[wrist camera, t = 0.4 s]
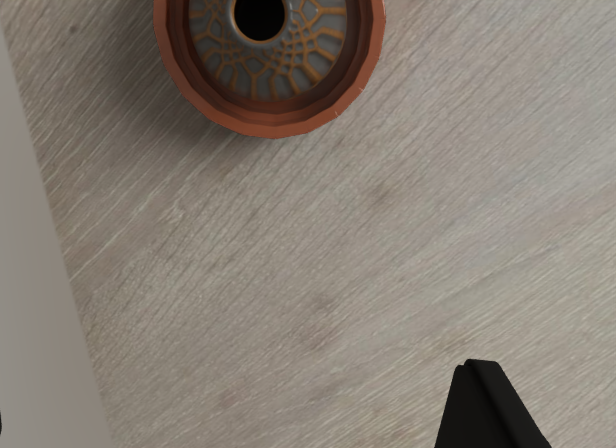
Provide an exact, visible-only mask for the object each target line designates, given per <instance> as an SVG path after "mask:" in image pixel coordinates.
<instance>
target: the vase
mask: <svg viewBox="0 0 616 448" xmlns="http://www.w3.org/2000/svg"><path fill="white" fill-rule="evenodd" d="M189 27H190V33H191V37H192V41H193V44H194V47H195V49H196V51H197V54H198V56H199V58H200V59H201V61H202V63H203V64H204V66H205V67H206V69H207V70H208V71H209V72H210V74H211V75H212V76H213V77H214V78H215V79H216V80H217V81H218V82H219V83H221V84H222V85H223V86H224V87H226V88H227V89H229V90H230V91H232V92H234V93H236V94H238V95H240V96H242V97H245V98H248V99H251V100H255V101H261V102H280V101H286V100H290V99H293V98H296V97H298V96H301V95H303V94H305V93H306V92H308V91H310V90H311V89H313V88H314V87H315V86H317V85H318V84H319V83H320V82H321V81H322V80H323V79H324V78H325V77H326V76H327V75H328V73H329V72H330V71H331V70H332V68H333V67H334V65H335V63H336V61H337V60H338V58H339V55H340V53H341V50H342V48H343V44H344V41H345V36H346V30H347V9H346V2H345V0H190V1H189Z"/></svg>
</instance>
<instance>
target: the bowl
mask: <svg viewBox="0 0 616 448" xmlns="http://www.w3.org/2000/svg"><path fill="white" fill-rule="evenodd" d="M189 1H190V0H154V3H153V25H154V27H153V28H154V32H155V35H156V39H157V43H158V46H159V50H160V54H161V57H162V61H163V63H164V66H165V68H166V69H167V71H168V73H169V74H170V76H171V77H172V79H173V81H174V82H175V84H176V86H177V87H178V89H179V90H180V92H181V94H182V95H183V96H184V97H185V98H186V99H187V100H188V101H189V102H190V103H191V104H192V105H194V106H195V107H196V108H197V109H198V110H199V111H200V112H201V113H202V114H204V115H205V116H206V117H207V118H208V119H209V120H211V121H213V122H215V123H217V124H219V125H222V126H224V127H226V128H228V129H230V130H232V131H234V132H237V133H239V134H242V135H246V136H254V137H262V138H270V139H275V138H276V139H279V138H284V137H290V136H295V135H300V134H305V133H308V132H311V131H313V130H315V129H317V128H318V127H320V126H322V125H324V124H326V123H328V122H329V121H331V120H333V119H335V118H337V117H338V116H339V115H341V113H342V112H343V111H344V110H345V109H346V108H347V107H348V106H349V105H350V104H351V103H352V102H353V101H354V100H355V99H356V98H357V97H358V96H359V95H360V93H361V92H362V91H363V90H364V88H365V86H366V84H367V82H368V80H369V78H370V76H371V74H372V72H373V70H374V68H375V66H376V64H377V62H378V60H379V57H380V53H381V47H382V41H383V35H384V29H385V23H386V13H385V5H384V0H345V2H346V9H347V30H346V36H345V41H344V44H343V48H342V50H341V53H340V55H339V58H338V60H337V61H336V63H335V65H334V67H333V68H332V70H331V71H330V72H329V73H328V75H327V76H326V77H325V78H324V79H323V80H322V81H321V82H320V83H319V84H318V85H317V86H315V87H314V88H313V89H311V90H310V91H308V92H306V93H305V94H303V95H301V96H298V97H296V98H293V99H290V100H286V101H280V102H261V101H255V100H251V99H248V98H245V97H242V96H240V95H238V94H236V93H234V92H232V91H230V90H229V89H227V88H226V87H224V86H223V85H222V84H221V83H219V82H218V81H217V80H216V79H215V78H214V77H213V76H212V75H211V74H210V72H209V71H208V70H207V69H206V67H205V66H204V64H203V63H202V61H201V59H200V58H199V56H198V54H197V51H196V49H195V47H194V44H193V41H192V37H191V33H190V27H189Z"/></svg>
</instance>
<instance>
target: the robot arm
mask: <svg viewBox="0 0 616 448" xmlns="http://www.w3.org/2000/svg"><path fill="white" fill-rule="evenodd" d="M1 429H2V425H1V415H0V434H1ZM434 448H552V447H551V445H550V444H549V442H548V441H547V440H546V438H545V437H544V436H543V435H542V433H541V432H540V430H539V428H538V427H537V425H536V424H535V422H534V420H533V419H532V417H531V415H530V414H529V412H528V410H527V409H526V407H525V406H524V404H523V402H522V401H521V399H520V397H519V396H518V394H517V393H516V391H515V389H514V388H513V386H512V384H511V383H510V381H509V379H508V378H507V376H506V375H505V373H504V371H503V370H502V368H501V366H500V365H499V364H498V363H497V362H495V361H486V360H477V359H467V360H466V361H465V363H464V365H458V366H457V367H456V368H455V371H454V375H453V379H452V382H451V386H450V390H449V394H448V398H447V401H446V405H445V409H444V413H443V417H442V420H441V424H440V428H439V432H438V436H437V439H436V443H435V447H434Z"/></svg>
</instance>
